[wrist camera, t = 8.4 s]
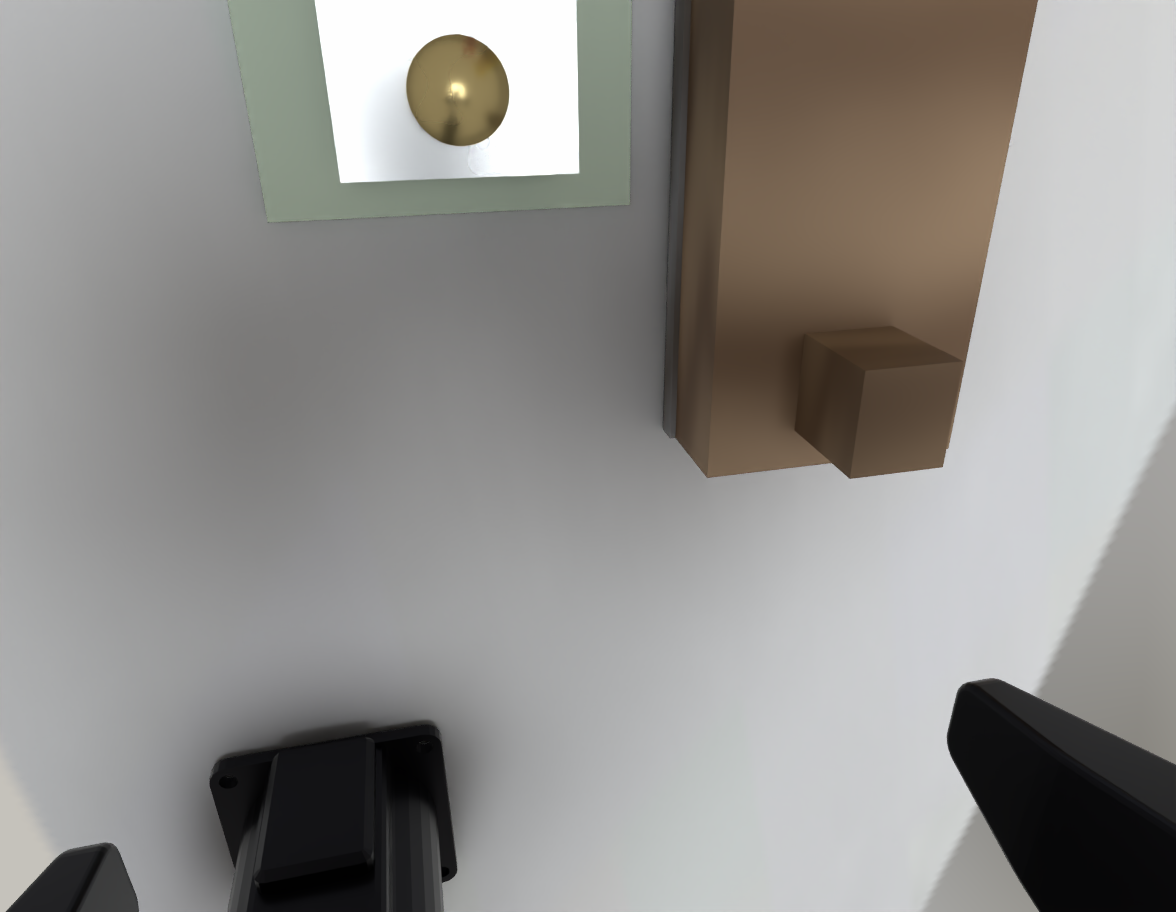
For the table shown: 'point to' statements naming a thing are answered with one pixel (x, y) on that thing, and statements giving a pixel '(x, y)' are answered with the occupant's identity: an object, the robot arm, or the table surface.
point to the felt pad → (314, 192)
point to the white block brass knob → (451, 87)
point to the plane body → (831, 224)
